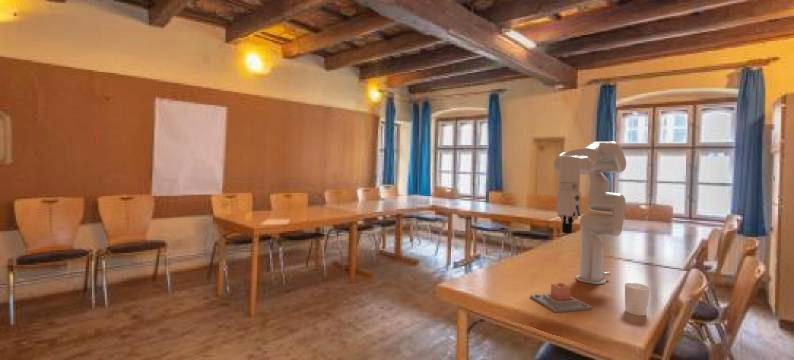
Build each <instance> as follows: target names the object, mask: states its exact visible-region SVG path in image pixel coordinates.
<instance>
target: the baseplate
mask: <svg viewBox="0 0 794 360" xmlns="http://www.w3.org/2000/svg"><path fill="white" fill-rule="evenodd" d="M529 297H530V299H532V300H534V301H535V302H537V303H539V304H541V305H542V306H544V307H545V308H547V309H549V310H550V311H552V312H554V313H564V312H565V313H567V312H574V311H585V310H588V311H589V310H593V306H592V305H590V304H588V303H587V302H584V301H582V300H580V299H578V298H576V297H574V296H572V295H570V301H557V300H555V299H553V298H551V293H540V294H539V293H535V294H530V296H529Z"/></svg>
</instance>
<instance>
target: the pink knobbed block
mask: <svg viewBox="0 0 794 360" xmlns="http://www.w3.org/2000/svg"><path fill="white" fill-rule="evenodd" d="M571 288H572V287H571V286H569V285H567V284H565V283H563V282H558V283H551V284H550V294H551V298H553V299H555V300H557V301H570V296H571V291H572V290H571Z"/></svg>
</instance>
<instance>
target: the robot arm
mask: <svg viewBox="0 0 794 360" xmlns="http://www.w3.org/2000/svg"><path fill="white" fill-rule="evenodd" d="M553 167H554V170H555V172H557V173H558V175H559V177H558V190H557V195H556V196H557V197H556V202H555V204H556V206H555V211H556V214H557V217H559V218H560V219H561V223H562V228H561V229H562V231H561V232H562V233H563V234H572V232H573V224H574V221H578V220H579V217H580V220H579V227H580V256H579V258H580V260H579V261H580V262H579V263H580V264H579V273H578V274H576V276H575V279H576V280H577V281H578V282H582V283H585V284H592V285H603V284H605V283H606V281H607V280H606V279H605V277H610V276H611V275H612V274H611V272H610V271H603V268H604V267H603V265H604V264H603V263H604V247H605V246H604V242H603V239H602V238H601V237H600V236H606V237H620V235H621V234H622V231H623V225H624V220H625V219H624V218H625V212H626V203H627V202H626V198H625V196H624V195H623V194H621V193H618V192H610V188H611V182H610V180H609V179H608V177H607V176H606V175H605V174H604V173H613V174H617V173H623V172H624V171H625V170H626V167H627V159H626V156H625V154H624V151H623V148H622V147H621V145H620V144H619V143H618V142H616V141H592V142H589V143H588V144H586V145H585V146H583V147H581V148H576V149H572V150H568V151H563V152H560V154H559V155H557V157H555V159H554V162H553ZM581 175H588V178H589V188H588V189H589V190H588V195H587V201H586V207H587V209H588V210H589V211H592V212H588V213H582V212H583V204H582V202H583V200H582V194H581V193H582V192H581V190H580V181H581ZM594 212H597V213H594ZM604 213H608V214H604Z"/></svg>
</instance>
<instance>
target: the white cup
mask: <svg viewBox="0 0 794 360" xmlns="http://www.w3.org/2000/svg"><path fill="white" fill-rule="evenodd" d="M650 289H651V288H650V287H649V286H648V285H645V284H642V283H637V282H626V283H624V304H625V305H624V310H625V312H626V313H628V314H630V315H632V316H637V317H638V316H639V317H643V316H646V315H647V313H648V306H649V297H650Z"/></svg>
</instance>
